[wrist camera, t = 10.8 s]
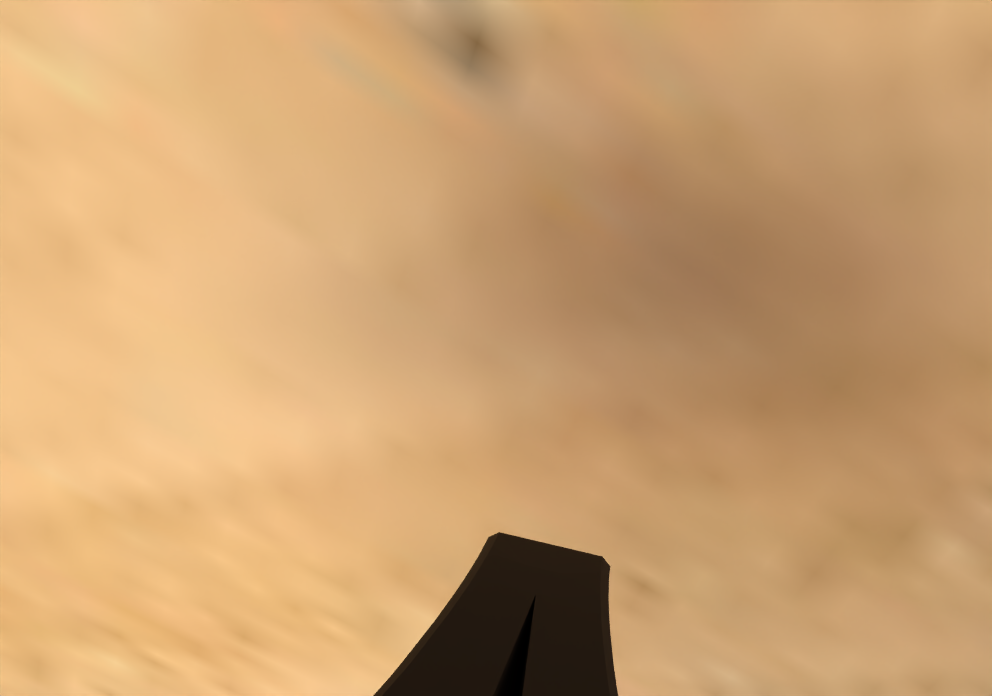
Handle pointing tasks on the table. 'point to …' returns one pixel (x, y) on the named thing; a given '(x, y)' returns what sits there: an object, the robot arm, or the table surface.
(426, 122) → the table surface
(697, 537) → the table surface
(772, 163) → the table surface
